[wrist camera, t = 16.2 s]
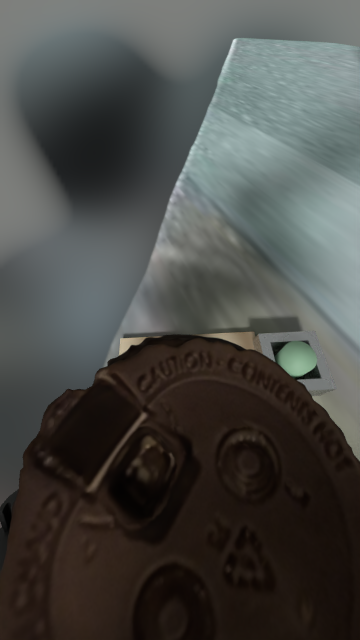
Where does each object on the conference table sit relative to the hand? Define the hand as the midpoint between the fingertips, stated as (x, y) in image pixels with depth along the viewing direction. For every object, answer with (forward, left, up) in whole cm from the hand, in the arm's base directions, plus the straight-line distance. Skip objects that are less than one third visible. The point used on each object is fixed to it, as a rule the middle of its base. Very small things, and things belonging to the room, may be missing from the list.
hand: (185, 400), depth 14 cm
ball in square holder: (-13, -6, -14) cm, 20 cm away
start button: (-13, -6, -13) cm, 19 cm away
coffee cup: (0, +4, -4) cm, 5 cm away
